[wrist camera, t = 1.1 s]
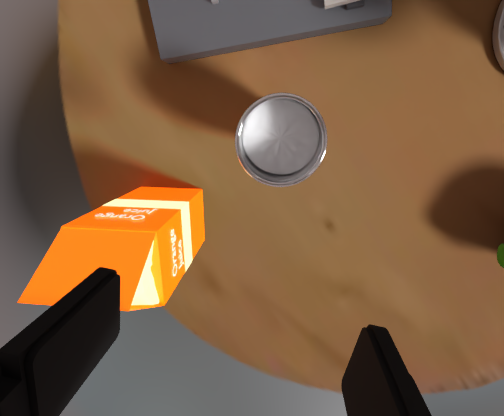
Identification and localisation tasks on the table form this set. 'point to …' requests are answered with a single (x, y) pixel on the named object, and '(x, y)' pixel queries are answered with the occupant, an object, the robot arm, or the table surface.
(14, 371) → the robot arm
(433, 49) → the table surface
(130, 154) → the table surface
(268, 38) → the panel
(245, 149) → the beer glass
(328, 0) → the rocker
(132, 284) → the orange juice
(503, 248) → the snack cup
